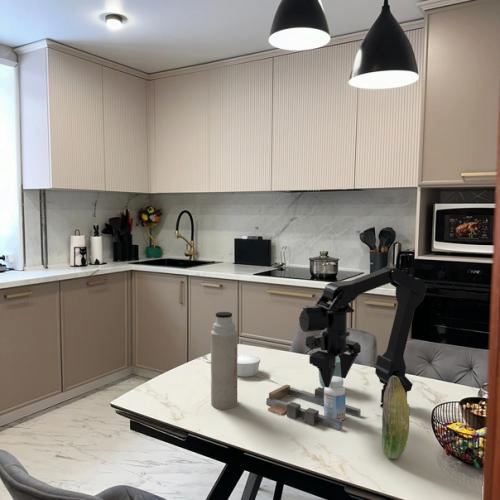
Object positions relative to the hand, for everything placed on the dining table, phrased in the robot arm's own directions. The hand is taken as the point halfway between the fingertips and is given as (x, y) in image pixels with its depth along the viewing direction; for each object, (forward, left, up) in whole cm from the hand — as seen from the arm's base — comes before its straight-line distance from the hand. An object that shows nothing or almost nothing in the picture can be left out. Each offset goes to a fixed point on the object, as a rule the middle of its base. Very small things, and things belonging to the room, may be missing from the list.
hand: (335, 382), depth 129 cm
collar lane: (+8, 0, -10) cm, 13 cm away
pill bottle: (0, 0, -10) cm, 10 cm away
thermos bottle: (+30, +14, -10) cm, 35 cm away
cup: (+12, -18, -10) cm, 24 cm away
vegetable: (-22, +10, -10) cm, 26 cm away
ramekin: (+43, -10, -11) cm, 45 cm away
